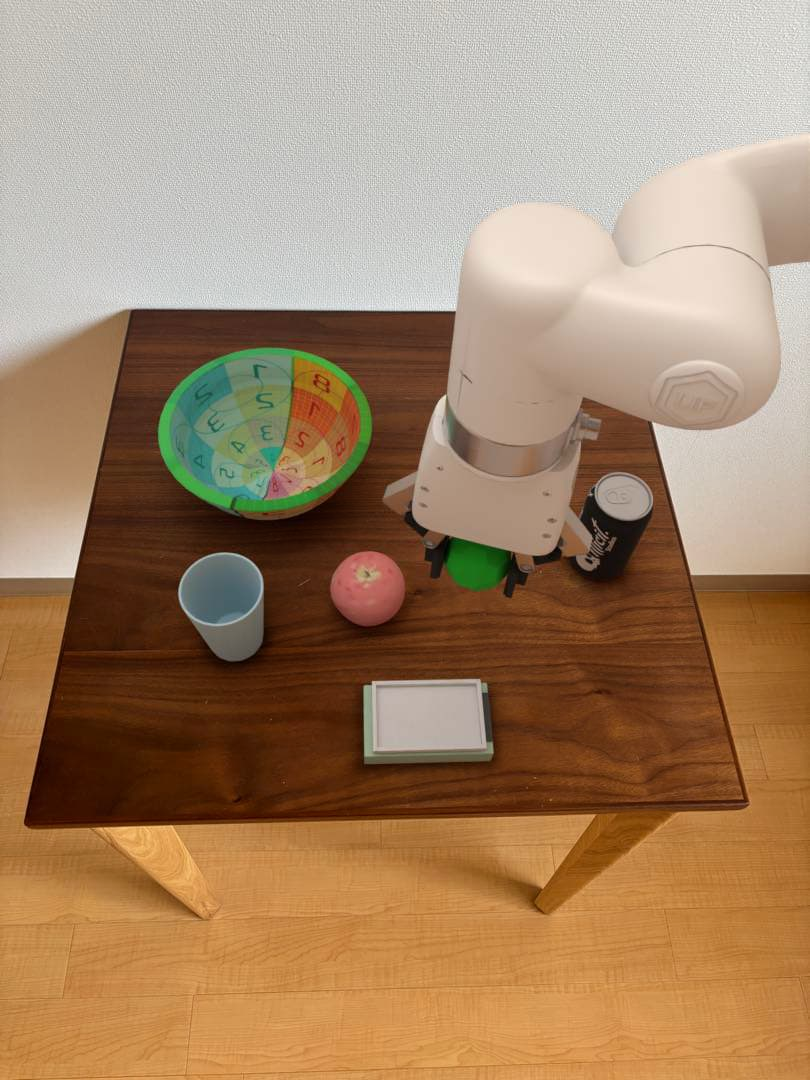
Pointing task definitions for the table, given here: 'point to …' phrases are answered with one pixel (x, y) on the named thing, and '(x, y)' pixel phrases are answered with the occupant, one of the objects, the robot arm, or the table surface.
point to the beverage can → (613, 524)
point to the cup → (225, 604)
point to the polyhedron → (476, 564)
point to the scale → (427, 721)
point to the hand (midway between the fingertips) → (474, 571)
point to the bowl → (265, 432)
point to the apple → (368, 588)
